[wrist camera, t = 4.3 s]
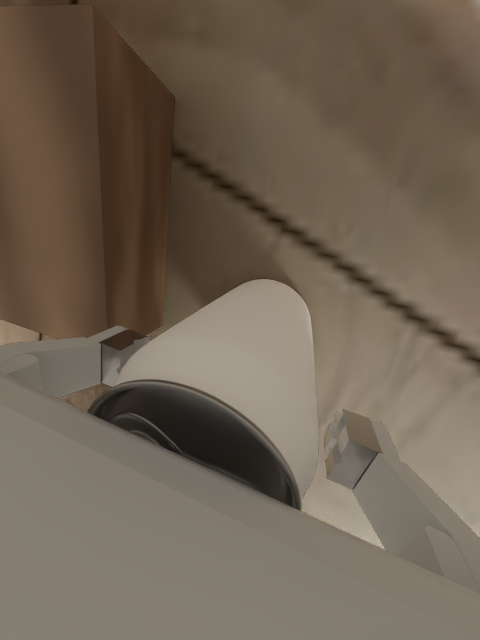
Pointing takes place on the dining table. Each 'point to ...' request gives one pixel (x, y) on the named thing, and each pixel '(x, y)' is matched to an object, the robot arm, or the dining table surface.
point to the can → (230, 390)
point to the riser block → (80, 175)
